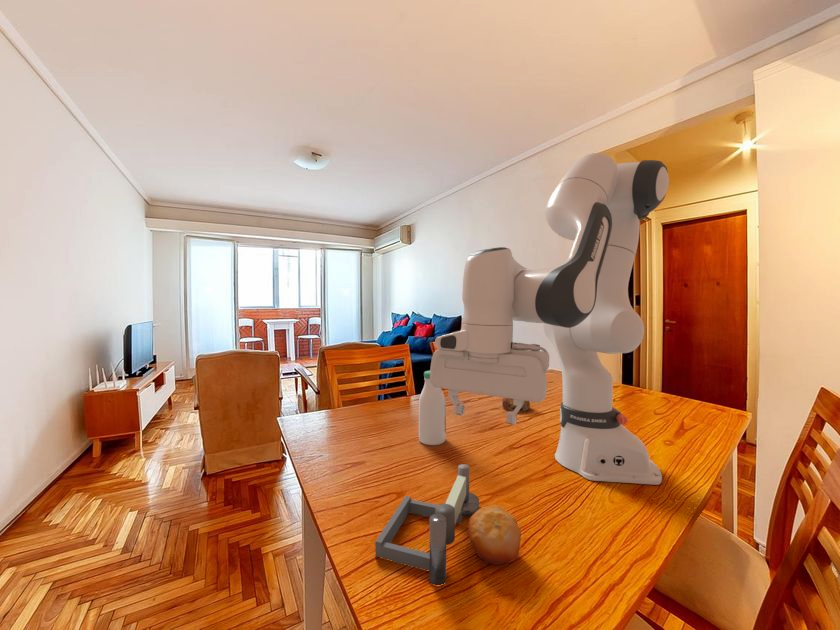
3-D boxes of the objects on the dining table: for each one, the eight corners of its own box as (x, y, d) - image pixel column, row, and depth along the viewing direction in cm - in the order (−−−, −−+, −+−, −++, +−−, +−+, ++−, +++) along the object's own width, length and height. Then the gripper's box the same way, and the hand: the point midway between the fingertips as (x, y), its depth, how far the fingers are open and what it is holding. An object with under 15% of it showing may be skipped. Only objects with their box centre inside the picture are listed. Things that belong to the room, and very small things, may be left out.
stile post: (448, 575, 49) (448, 515, 49) (443, 588, 47) (443, 526, 46) (432, 571, 50) (432, 512, 50) (427, 584, 48) (427, 522, 47)
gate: (472, 496, 66) (472, 465, 66) (452, 557, 50) (452, 517, 50) (457, 493, 67) (457, 463, 67) (433, 552, 51) (432, 513, 51)
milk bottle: (443, 447, 92) (443, 375, 91) (416, 444, 94) (416, 374, 93) (447, 436, 100) (447, 369, 99) (421, 434, 101) (421, 368, 100)
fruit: (507, 520, 59) (515, 496, 55) (520, 574, 53) (530, 552, 48) (462, 522, 59) (466, 497, 54) (469, 576, 52) (474, 553, 48)
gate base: (481, 501, 67) (481, 494, 67) (476, 520, 62) (476, 512, 62) (452, 495, 69) (452, 488, 69) (444, 513, 64) (444, 505, 63)
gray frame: (461, 520, 61) (461, 507, 61) (443, 575, 49) (443, 558, 49) (405, 508, 65) (405, 495, 65) (375, 556, 53) (375, 541, 53)
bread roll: (531, 417, 126) (533, 396, 128) (524, 413, 118) (527, 390, 120) (505, 413, 131) (507, 392, 134) (497, 408, 123) (500, 386, 126)
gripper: (551, 343, 57) (549, 423, 57) (441, 335, 66) (439, 405, 67) (547, 347, 51) (544, 436, 52) (426, 338, 60) (425, 414, 61)
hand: (484, 418), depth 59 cm, fingers open, 8 cm apart
